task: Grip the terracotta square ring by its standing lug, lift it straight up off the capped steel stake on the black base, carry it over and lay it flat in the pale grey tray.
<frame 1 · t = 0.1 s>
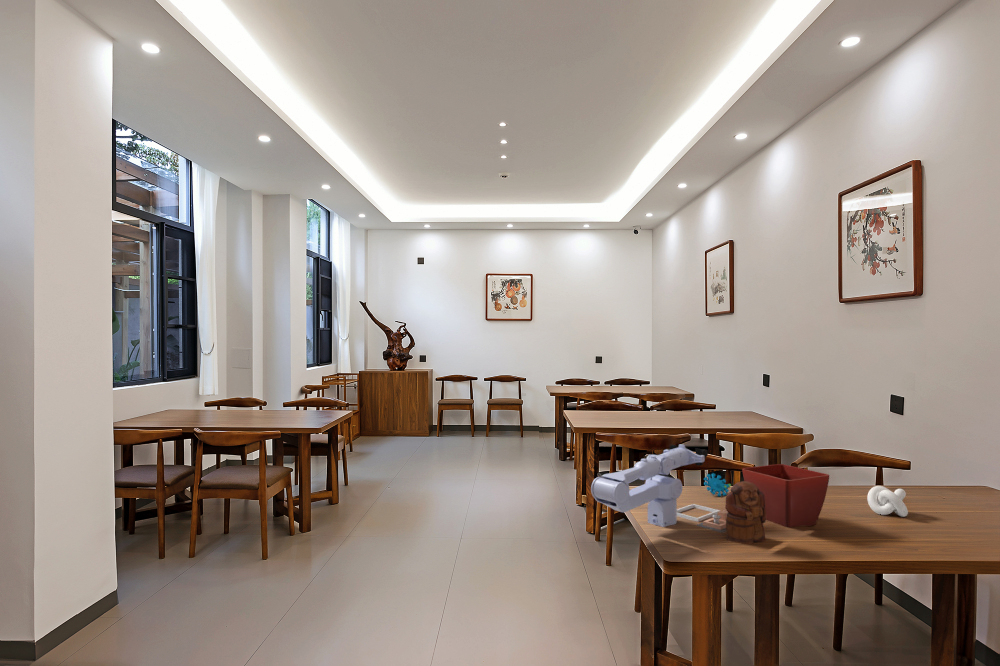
hand: (696, 451, 194), 22 cm above the table, tool horizontal, fingers open, 7 cm apart
plant pot: (785, 522, 184), on the table
gear: (717, 495, 218), on the table
wooden figurine: (747, 543, 165), on the table
ring: (716, 525, 177), point 1 cm above the table, touching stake
white knot sculpture: (891, 515, 193), on the table
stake: (716, 528, 177), on the table
tray: (695, 516, 190), on the table
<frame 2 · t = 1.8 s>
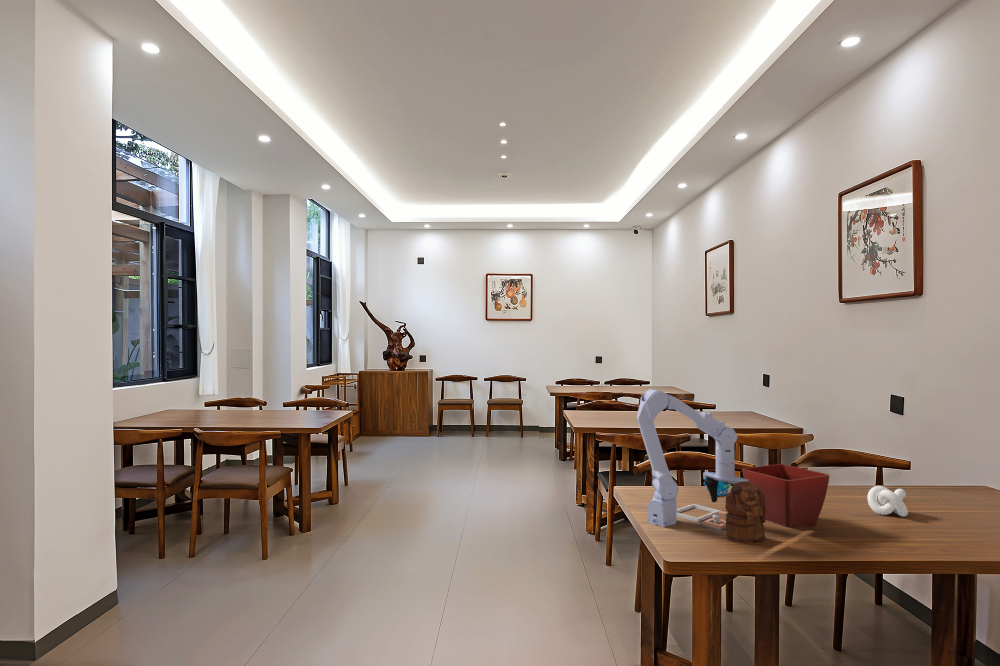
hand: (725, 504, 181), 7 cm above the table, tool pointing down, fingers open, 7 cm apart
nothing on the table moved.
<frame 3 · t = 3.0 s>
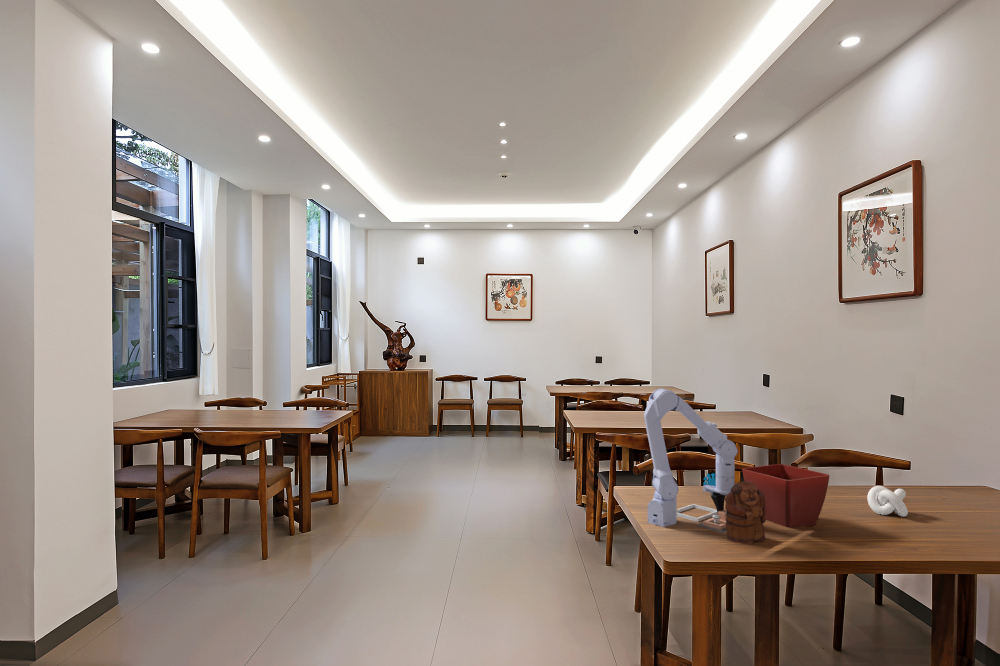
hand: (725, 517, 181), 2 cm above the table, tool pointing down, fingers closed on ring, 2 cm apart
ring: (716, 525, 177), point 1 cm above the table, touching gripper, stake
everything else where it was.
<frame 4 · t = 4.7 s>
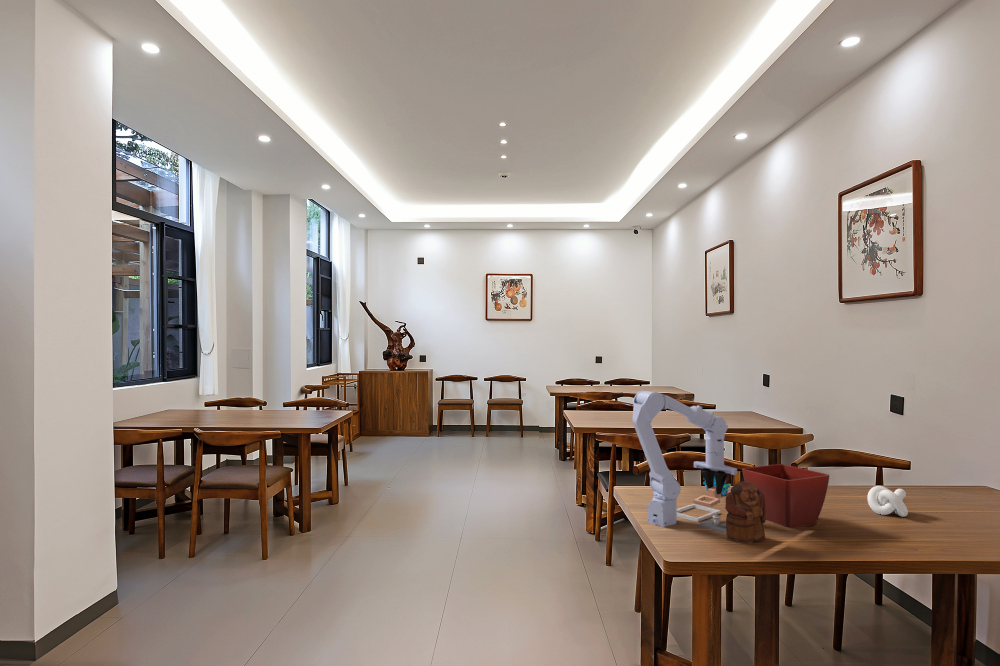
hand: (714, 492, 185), 9 cm above the table, tool pointing down, fingers closed on ring, 2 cm apart
ring: (706, 502, 182), point 7 cm above the table, tilted 6°, touching gripper
everything else where it was.
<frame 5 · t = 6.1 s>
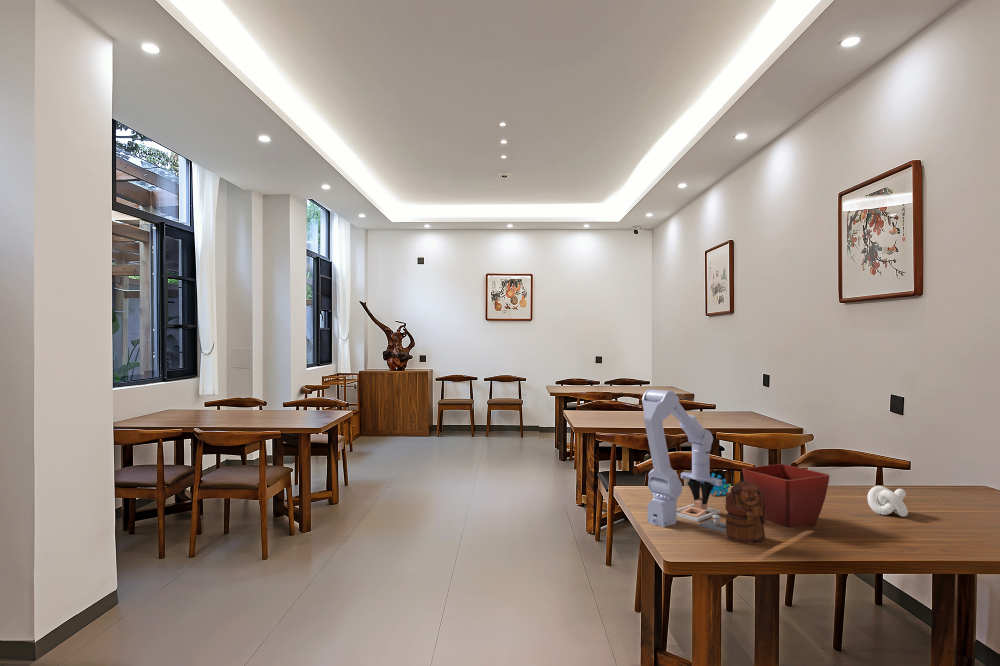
hand: (700, 502, 192), 4 cm above the table, tool pointing down, fingers closed on ring, 2 cm apart
ring: (693, 514, 189), point 1 cm above the table, tilted 9°, touching gripper, tray
everything else where it was.
when the fingers open (4 cm above the table, at t = 6.8 s): ring stays where it is, resting on tray.
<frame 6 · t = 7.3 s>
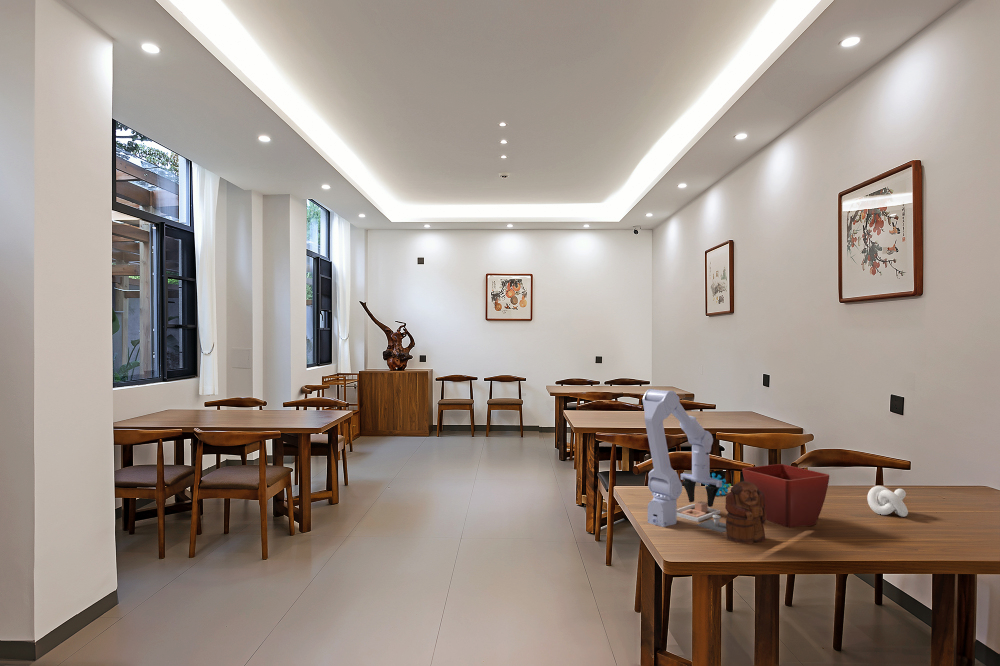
hand: (700, 504, 192), 4 cm above the table, tool pointing down, fingers open, 6 cm apart
ring: (693, 516, 189), resting on tray
everything else where it was.
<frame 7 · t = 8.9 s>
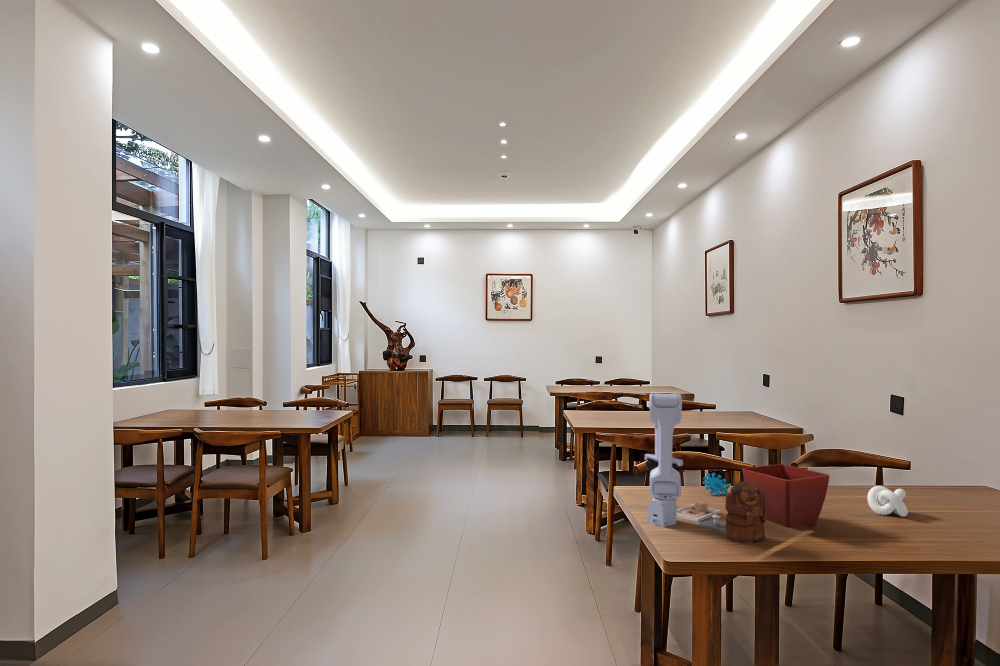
hand: (663, 482, 198), 9 cm above the table, tool pointing down, fingers open, 7 cm apart
nothing on the table moved.
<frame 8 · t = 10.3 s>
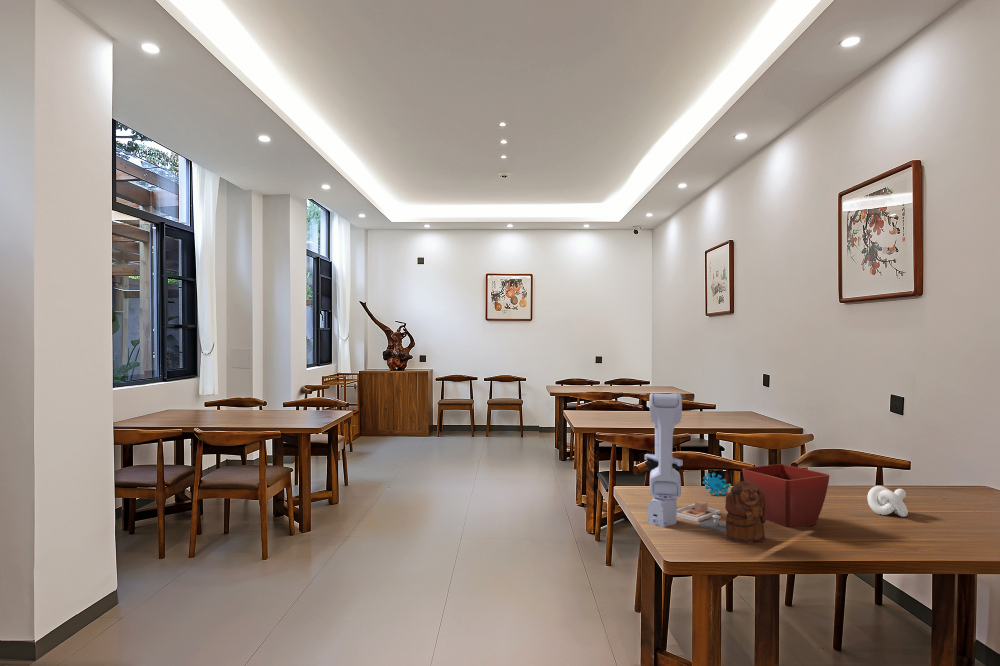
hand: (663, 482, 198), 9 cm above the table, tool pointing down, fingers open, 7 cm apart
at the end: ring 0.7 cm from the target spot on the tray, point 0.5 cm above the tray's base; ring tilted 0°; the gripper is holding nothing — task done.
